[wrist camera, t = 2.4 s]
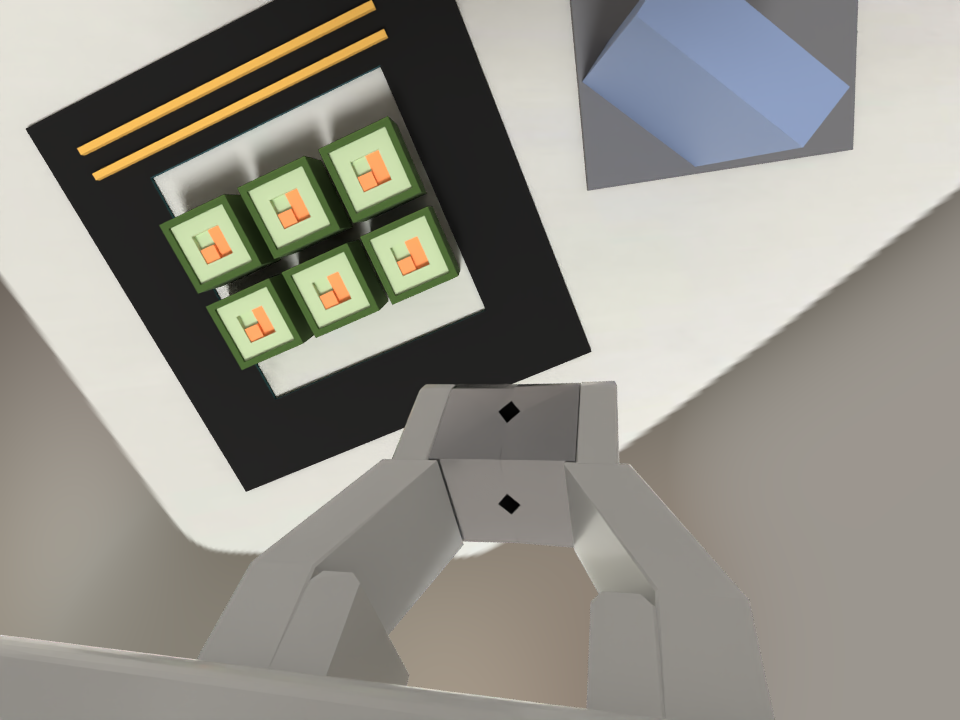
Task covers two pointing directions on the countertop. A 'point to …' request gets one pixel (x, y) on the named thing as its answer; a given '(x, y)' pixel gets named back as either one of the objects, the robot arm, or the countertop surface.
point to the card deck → (714, 80)
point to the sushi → (315, 223)
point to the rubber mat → (642, 157)
